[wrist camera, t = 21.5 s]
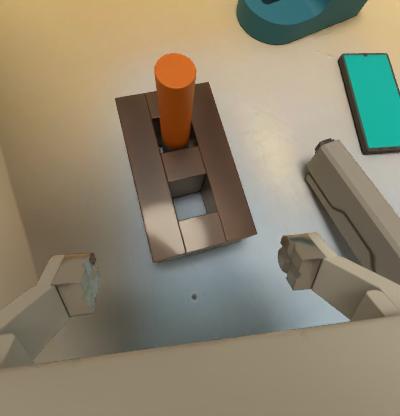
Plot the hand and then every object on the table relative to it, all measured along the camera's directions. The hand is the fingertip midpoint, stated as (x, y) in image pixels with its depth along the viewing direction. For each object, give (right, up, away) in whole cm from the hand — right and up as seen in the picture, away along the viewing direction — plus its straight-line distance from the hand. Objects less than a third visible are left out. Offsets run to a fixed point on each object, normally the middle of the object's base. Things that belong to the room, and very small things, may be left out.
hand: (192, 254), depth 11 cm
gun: (+18, -3, +19) cm, 26 cm away
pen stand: (-2, +5, +19) cm, 20 cm away
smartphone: (+25, +17, +24) cm, 38 cm away
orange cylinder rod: (-3, +8, +19) cm, 21 cm away
